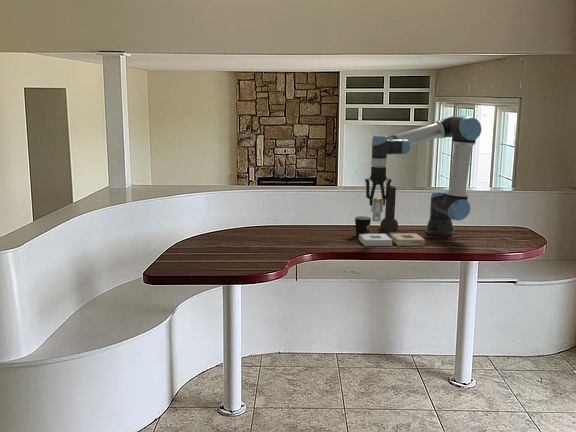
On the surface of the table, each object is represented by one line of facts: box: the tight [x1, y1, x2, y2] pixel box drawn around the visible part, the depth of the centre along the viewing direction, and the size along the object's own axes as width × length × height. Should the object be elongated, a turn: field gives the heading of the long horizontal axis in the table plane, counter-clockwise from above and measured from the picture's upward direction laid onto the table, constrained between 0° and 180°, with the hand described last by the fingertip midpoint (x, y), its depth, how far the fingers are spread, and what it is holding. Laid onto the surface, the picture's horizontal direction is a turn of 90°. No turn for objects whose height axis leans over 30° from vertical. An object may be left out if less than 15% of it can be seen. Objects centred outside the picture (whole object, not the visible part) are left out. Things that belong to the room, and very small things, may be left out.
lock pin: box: [372, 197, 382, 223], centre depth 325 cm, size 4×4×12 cm
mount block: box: [358, 233, 393, 247], centre depth 328 cm, size 14×14×3 cm
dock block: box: [389, 232, 426, 247], centre depth 330 cm, size 14×14×3 cm
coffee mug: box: [354, 215, 372, 238], centre depth 341 cm, size 12×9×10 cm
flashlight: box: [379, 184, 399, 232], centre depth 358 cm, size 10×25×10 cm
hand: (376, 211), depth 325 cm, fingers closed on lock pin, 4 cm apart
